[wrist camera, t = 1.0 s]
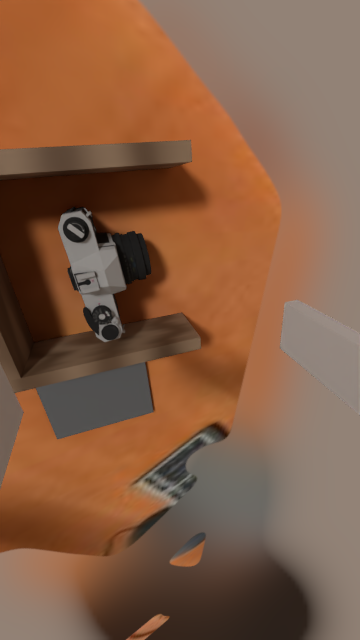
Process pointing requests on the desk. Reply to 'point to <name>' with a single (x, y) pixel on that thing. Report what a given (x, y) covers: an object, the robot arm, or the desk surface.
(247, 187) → the desk surface
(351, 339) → the robot arm
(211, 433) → the desk surface
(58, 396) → the mat
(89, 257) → the camera
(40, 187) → the desk surface
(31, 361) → the cubby
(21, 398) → the desk surface
